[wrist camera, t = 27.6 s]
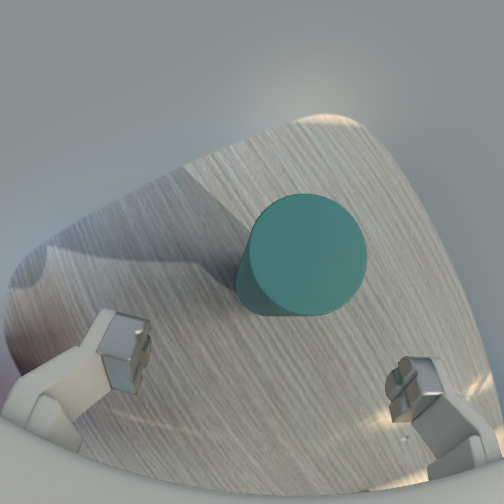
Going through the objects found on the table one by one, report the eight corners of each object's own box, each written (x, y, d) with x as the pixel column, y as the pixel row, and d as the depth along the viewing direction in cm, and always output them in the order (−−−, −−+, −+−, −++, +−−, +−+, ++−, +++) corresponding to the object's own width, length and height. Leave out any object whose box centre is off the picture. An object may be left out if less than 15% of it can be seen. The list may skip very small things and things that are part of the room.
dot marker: (242, 322, 18) (266, 331, 8) (227, 263, 19) (234, 205, 9) (300, 307, 18) (381, 296, 9) (285, 250, 19) (347, 184, 9)
